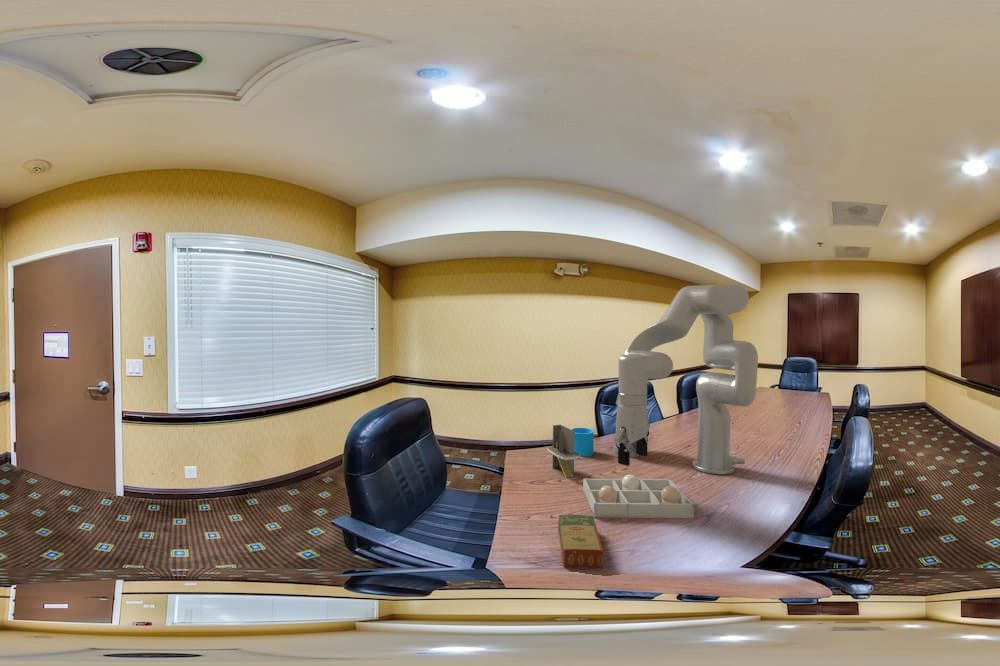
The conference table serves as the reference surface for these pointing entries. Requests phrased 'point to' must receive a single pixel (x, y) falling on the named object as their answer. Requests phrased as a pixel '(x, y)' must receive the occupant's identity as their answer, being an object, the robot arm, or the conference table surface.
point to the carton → (580, 541)
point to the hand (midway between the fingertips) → (633, 459)
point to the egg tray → (636, 500)
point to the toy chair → (563, 450)
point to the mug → (583, 441)
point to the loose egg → (630, 482)
